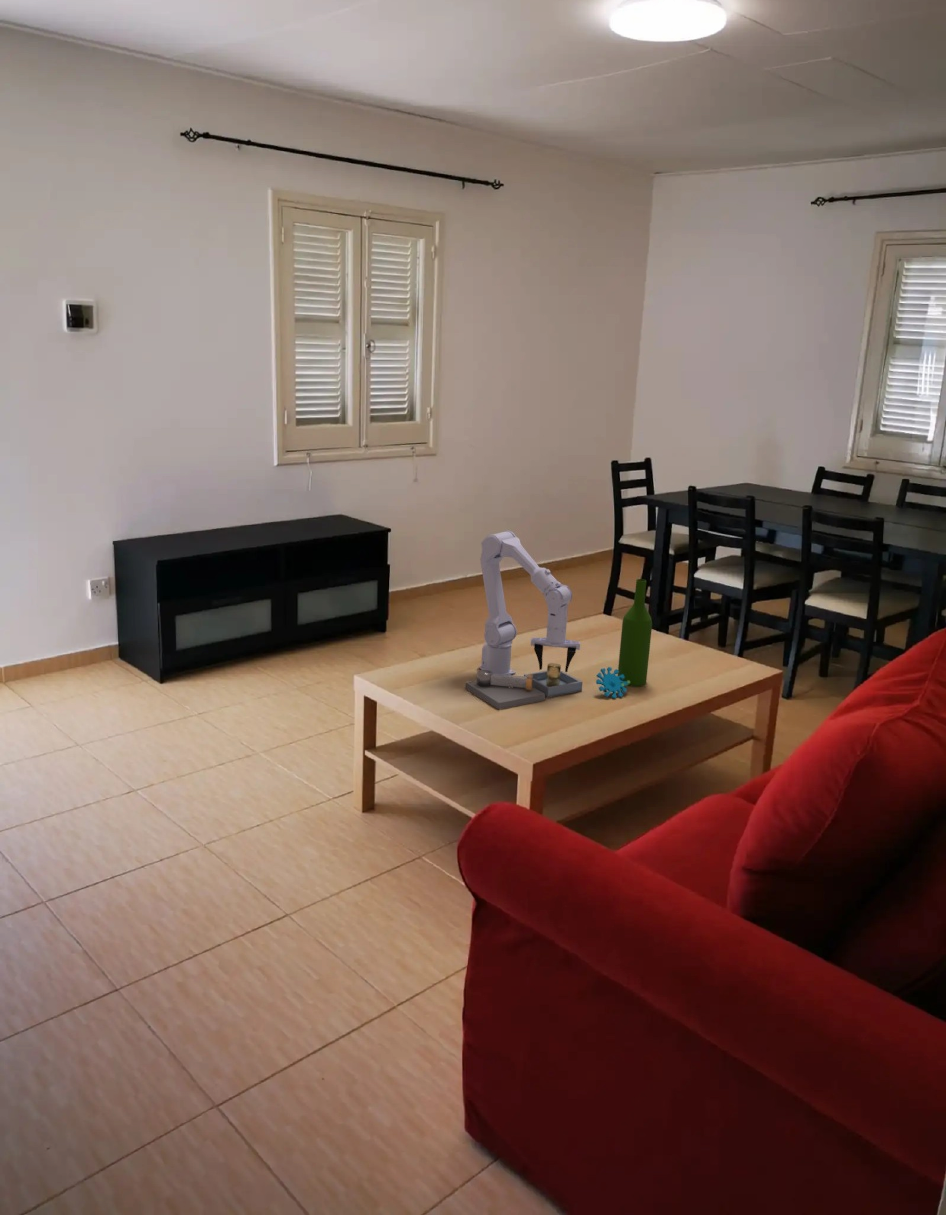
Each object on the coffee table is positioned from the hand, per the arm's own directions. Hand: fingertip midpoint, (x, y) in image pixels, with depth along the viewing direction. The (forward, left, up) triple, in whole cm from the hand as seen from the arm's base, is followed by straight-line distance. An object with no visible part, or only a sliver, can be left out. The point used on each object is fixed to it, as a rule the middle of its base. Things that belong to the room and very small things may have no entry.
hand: (553, 669), depth 282 cm
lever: (-3, -16, -3) cm, 16 cm away
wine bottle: (+7, +26, -6) cm, 27 cm away
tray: (0, 0, -6) cm, 6 cm away
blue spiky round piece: (+12, +13, -6) cm, 19 cm away
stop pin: (0, 0, -5) cm, 5 cm away
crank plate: (-1, -16, -6) cm, 17 cm away
